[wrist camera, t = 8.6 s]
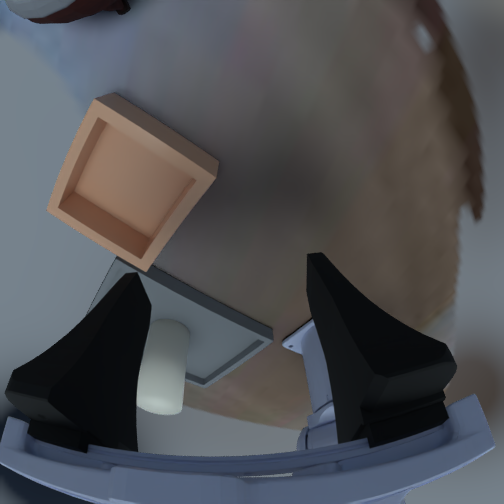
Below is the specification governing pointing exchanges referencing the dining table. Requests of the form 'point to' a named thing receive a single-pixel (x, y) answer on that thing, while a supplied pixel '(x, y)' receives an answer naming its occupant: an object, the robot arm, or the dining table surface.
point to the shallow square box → (129, 180)
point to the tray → (196, 323)
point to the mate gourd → (63, 9)
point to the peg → (163, 368)
